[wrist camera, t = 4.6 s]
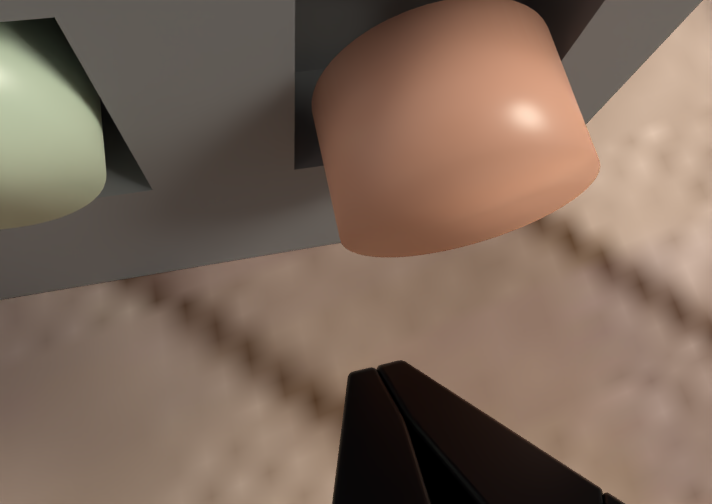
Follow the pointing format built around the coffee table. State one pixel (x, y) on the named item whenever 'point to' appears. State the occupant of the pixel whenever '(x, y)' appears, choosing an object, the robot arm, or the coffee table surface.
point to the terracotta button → (449, 129)
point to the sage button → (46, 126)
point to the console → (245, 123)
